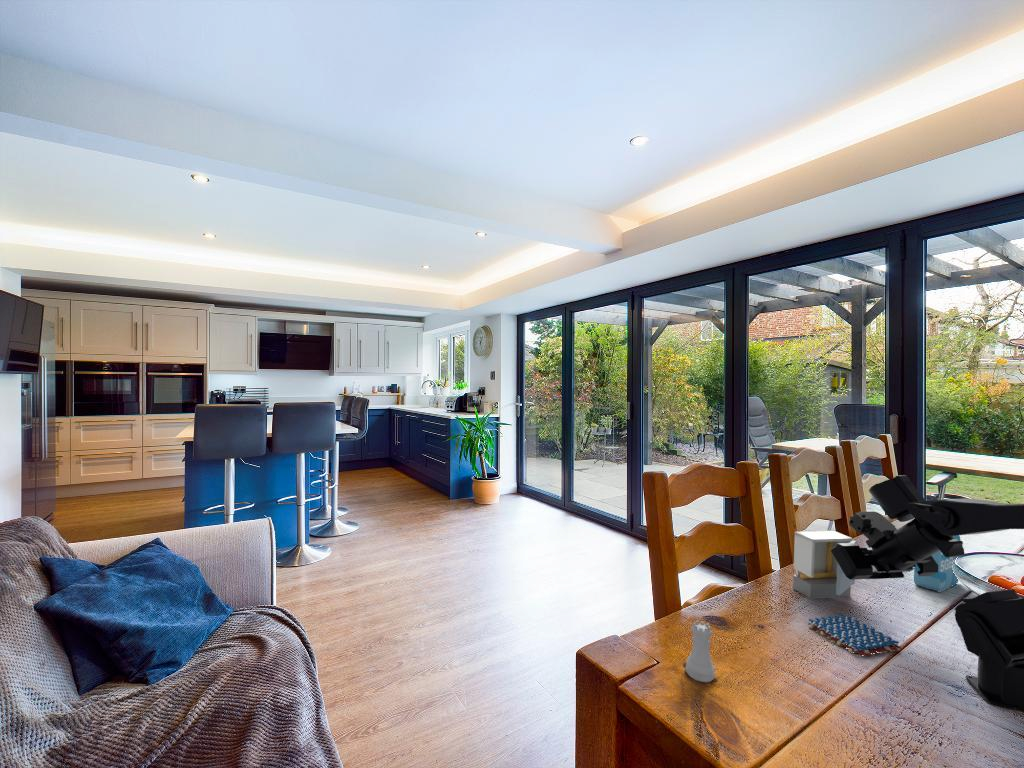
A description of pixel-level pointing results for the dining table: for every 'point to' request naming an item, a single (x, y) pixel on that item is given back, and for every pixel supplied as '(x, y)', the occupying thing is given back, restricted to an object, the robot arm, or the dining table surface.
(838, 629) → the woven mat
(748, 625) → the dining table surface
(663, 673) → the dining table surface
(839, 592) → the box door
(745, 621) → the dining table surface
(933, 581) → the blue carton
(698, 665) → the rook chess piece
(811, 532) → the box
